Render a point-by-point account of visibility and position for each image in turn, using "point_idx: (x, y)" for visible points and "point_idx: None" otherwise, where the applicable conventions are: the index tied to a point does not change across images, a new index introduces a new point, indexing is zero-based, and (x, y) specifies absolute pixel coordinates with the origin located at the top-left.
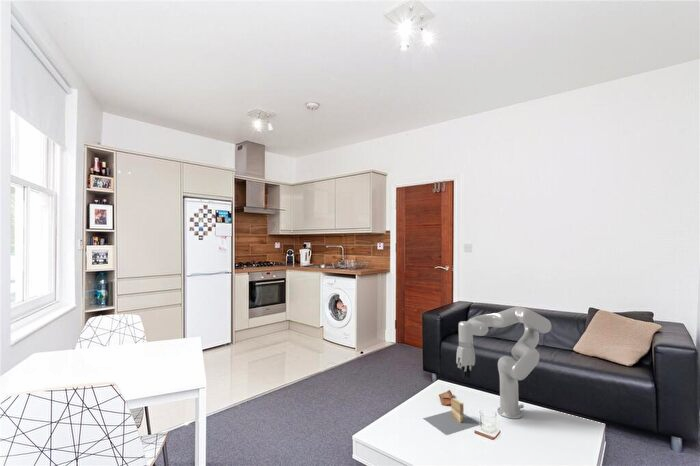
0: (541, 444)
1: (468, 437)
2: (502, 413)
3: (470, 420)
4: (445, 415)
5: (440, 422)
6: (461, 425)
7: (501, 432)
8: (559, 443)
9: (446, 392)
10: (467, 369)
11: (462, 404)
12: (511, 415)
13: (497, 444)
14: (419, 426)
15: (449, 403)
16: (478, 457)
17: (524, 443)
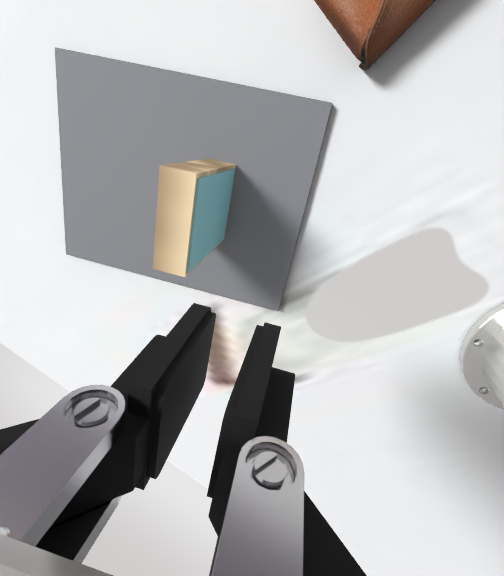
0: (323, 496)
1: (144, 316)
2: (483, 340)
3: (267, 254)
4: (198, 118)
5: (115, 158)
6: None
7: None
8: (378, 531)
9: None
10: (216, 485)
11: (178, 272)
12: (487, 382)
13: (198, 404)
14: (5, 101)
15: (345, 15)
16: None
17: None
